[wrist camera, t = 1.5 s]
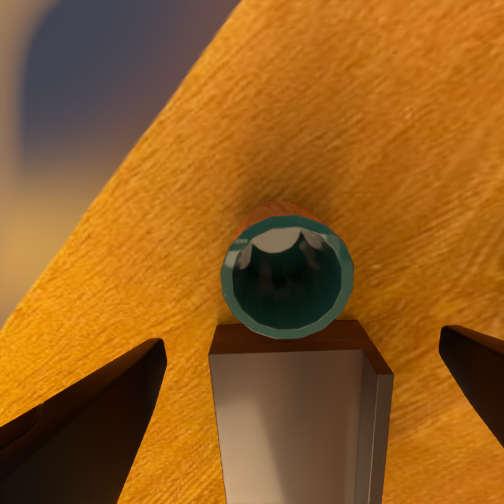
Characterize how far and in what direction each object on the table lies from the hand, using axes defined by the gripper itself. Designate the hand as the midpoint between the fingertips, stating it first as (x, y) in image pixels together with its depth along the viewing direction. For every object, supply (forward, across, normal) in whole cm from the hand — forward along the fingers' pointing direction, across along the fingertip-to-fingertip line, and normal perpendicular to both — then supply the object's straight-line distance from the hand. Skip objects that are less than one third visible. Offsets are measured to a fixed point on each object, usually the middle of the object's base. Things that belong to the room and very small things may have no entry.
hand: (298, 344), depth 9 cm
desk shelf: (+13, 0, +17) cm, 21 cm away
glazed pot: (+13, 0, 0) cm, 13 cm away
